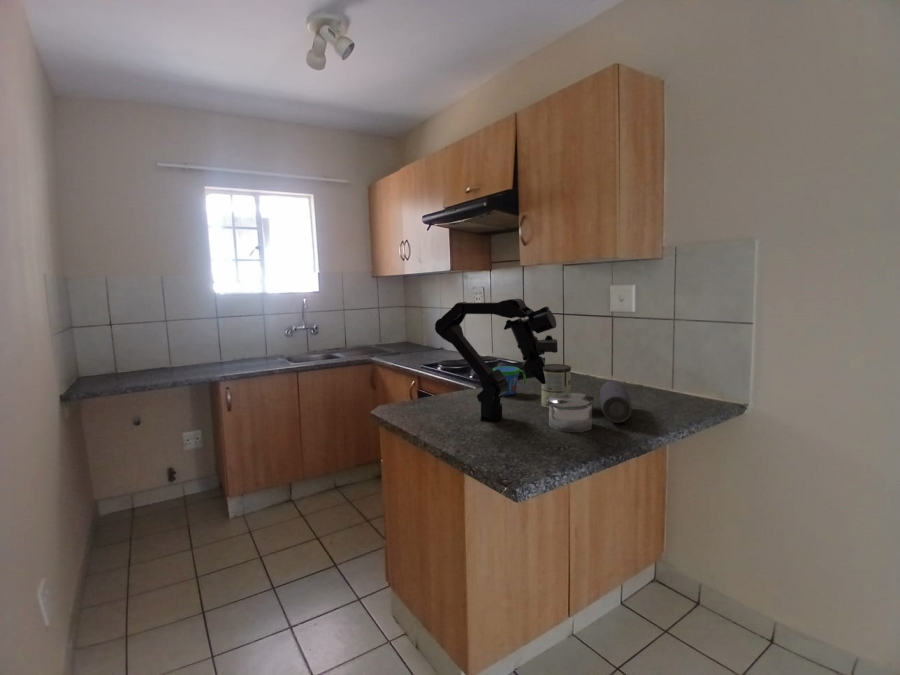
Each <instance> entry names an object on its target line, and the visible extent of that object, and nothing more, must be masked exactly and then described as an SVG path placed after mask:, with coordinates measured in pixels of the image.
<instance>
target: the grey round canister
mask: <svg viewBox="0 0 900 675" xmlns="http://www.w3.org/2000/svg"><path fill="white" fill-rule="evenodd" d="M592 413H593V403H592V404H591V405H589V406H586V407H580V408H560V407H555V406H552V405H549V408H548V426H549V427H550V428H551V429H553V430H555V431H559V432H562V431H563V433H570V432H579V433H584V431H586V432H588V430H589V431H590V430H592V424H593V422H592V417H593V414H592Z"/></svg>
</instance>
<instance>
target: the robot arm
mask: <svg viewBox="0 0 900 675" xmlns="http://www.w3.org/2000/svg"><path fill="white" fill-rule="evenodd" d="M466 315H495V316H499V317H503V318H508V319H507V320H506V321H505V325H504V327H503V330H504V331H506V330H508V329H509V330H510V329H511V331H512V334H513V336H514V339H515V341H516V343H517V344H516V345H517V348H518V349H519V350H520V353H521V355H522V361H523V364H522V369H523V370H522V371H523V372H524V373H525V374H527V373H529V374H531V375H532V376H533V377H534V378H535V379H536V380H537V381H539V383H541V385H542V384H546V380H545V375H544V370H543V367H544V366H545V365H546V357H542V356H543V355H545V354H546V353H554V354H556V353H558V339H556V338H553V336H552V335H549V334H548V335H545V338H543V339H538V337H537V336H535V333H536V334H541V333H544V332H547V331H551V330H553V329H556V328H557V320H556V317H555V315H554V313H553V312H552V311H551V310H550V307H549V306H544V307H542V308H540V309H538V310H535V311H534V310H533V309H532V308H530V307H529V306H527V305H526V302H525V301H524V299H522V298H521V299H520V298H511V299H504V300H500V301H496V302H489V301H488V302H466V301H460V302H456V303H455V304H454V305H453V306H452V307H451V309H450V310H448V311H447V312H446V313H445V314H443V316H442V317H441V318H438V319H437V320H436V322H435V324H434V331H435V333H436V334H437V335H438V336H440V337H441V338H442V340H445V341H446V342H448V343H449V344H451V345H452V346H453V347H454V348H455V350H456V351H457V352H458V353H459V355H460V356H461V357H462V358H463V360H464V361H465V362H466V364H467V365H468V366H469V367H470V369H472V371H473V372H474V373H475V374H476V376H477V377H478V380H479V384H480V386H481V389H482V390H481V391H480V392H479V393H478V394H477V395H476V397H477V400H478V403H480V418H479V421H488V422H489V421H490V422H492V421H493V422H501V420H502V419H501V418H503V403H501V402H502V401H501V399H502V398H503V397H504V396H505V395H504V393H505V392H506V391H507V390H508V382H507V380H506V379H507V377H505V376H504V375H503V374H502V372H501V371H500V370H499V369H497V370H495V371H494V370H493V368H491V367H490V366H489V365H488V363H486V361H485V360H484V359H483V357H481V355H480V354H479V353H478V352H477V350H476V349H475V348H474V347H473V345H472V344H471V343H470V342H469V340H468V339H467V338H466V337H465V335H464V333H463V332H464V331H463V328H462V326H461V323H462V322H463V321H464V319H465V318H466ZM515 318H517V319H515ZM524 318H525V319H524ZM511 319H514V320H511ZM534 332H535V333H534Z"/></svg>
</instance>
